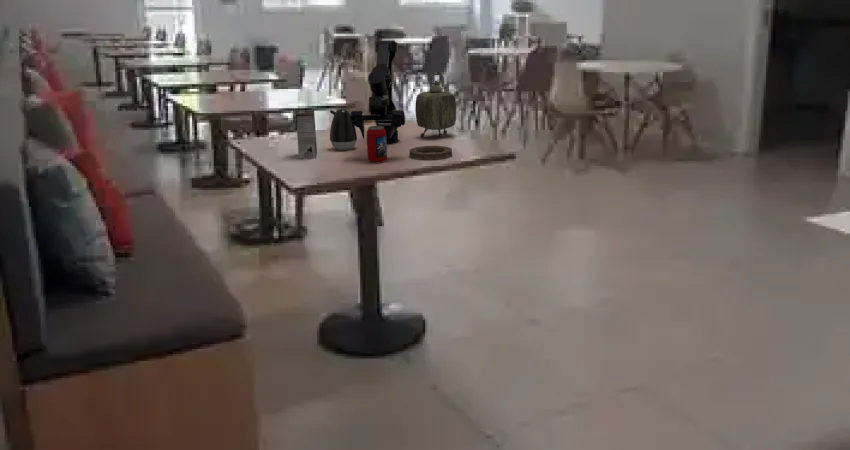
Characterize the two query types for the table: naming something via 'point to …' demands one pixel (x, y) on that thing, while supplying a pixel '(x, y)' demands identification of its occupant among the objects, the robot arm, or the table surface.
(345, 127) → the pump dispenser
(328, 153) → the table surface
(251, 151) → the table surface
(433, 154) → the walnut ring
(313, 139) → the coffee box
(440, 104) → the tabletop clock
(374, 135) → the beverage can
